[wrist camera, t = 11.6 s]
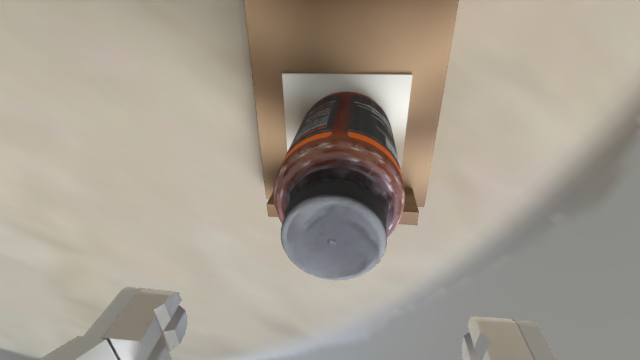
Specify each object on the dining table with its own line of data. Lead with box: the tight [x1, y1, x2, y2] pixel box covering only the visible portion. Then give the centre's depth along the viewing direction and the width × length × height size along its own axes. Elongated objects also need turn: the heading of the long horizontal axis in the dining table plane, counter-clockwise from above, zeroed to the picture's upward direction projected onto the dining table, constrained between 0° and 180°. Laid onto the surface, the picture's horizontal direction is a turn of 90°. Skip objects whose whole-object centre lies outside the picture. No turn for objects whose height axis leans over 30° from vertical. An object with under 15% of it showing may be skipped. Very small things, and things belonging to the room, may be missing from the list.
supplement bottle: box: [274, 92, 405, 280], centre depth 17 cm, size 6×6×11 cm
